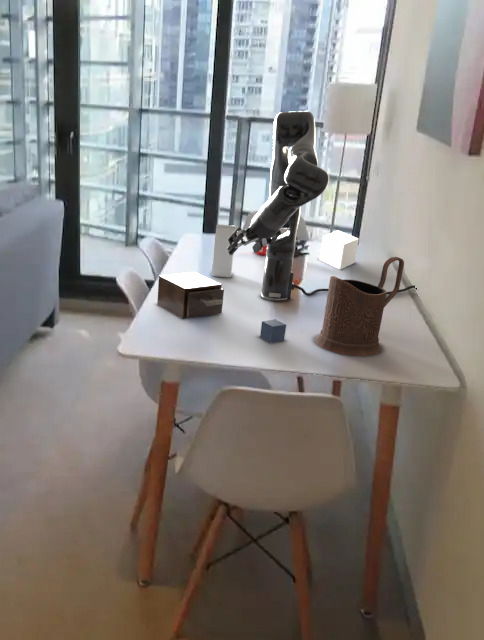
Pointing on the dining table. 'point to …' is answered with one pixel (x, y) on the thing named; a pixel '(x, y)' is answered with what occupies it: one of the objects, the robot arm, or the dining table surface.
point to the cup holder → (356, 314)
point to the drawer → (204, 302)
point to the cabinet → (181, 290)
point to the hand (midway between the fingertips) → (241, 251)
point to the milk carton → (222, 251)
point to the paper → (339, 249)
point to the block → (273, 331)
